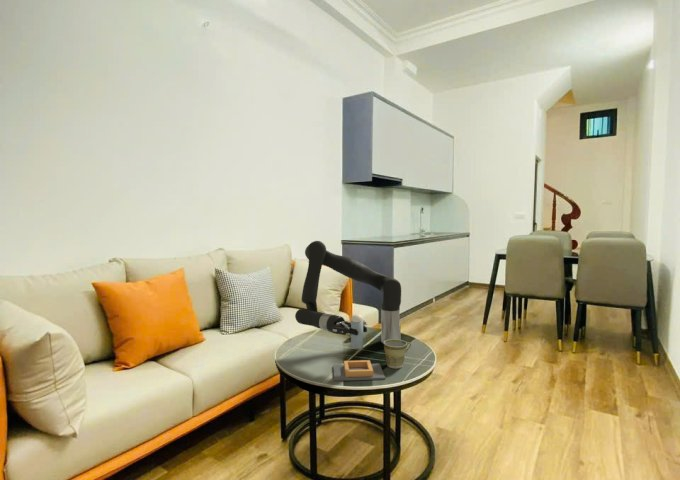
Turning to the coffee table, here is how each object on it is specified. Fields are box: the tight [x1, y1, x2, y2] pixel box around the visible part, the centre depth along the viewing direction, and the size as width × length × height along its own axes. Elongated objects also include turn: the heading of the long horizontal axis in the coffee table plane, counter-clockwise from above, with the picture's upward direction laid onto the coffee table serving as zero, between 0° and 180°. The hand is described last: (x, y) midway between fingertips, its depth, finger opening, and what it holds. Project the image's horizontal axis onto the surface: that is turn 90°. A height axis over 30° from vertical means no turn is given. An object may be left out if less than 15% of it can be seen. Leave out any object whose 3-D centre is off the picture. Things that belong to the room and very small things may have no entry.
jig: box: [332, 359, 386, 382], centre depth 153 cm, size 20×14×3 cm
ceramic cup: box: [383, 339, 412, 369], centre depth 160 cm, size 13×10×10 cm
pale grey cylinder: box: [350, 313, 364, 350], centre depth 152 cm, size 5×5×14 cm
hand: (362, 331), depth 150 cm, fingers closed on pale grey cylinder, 5 cm apart
